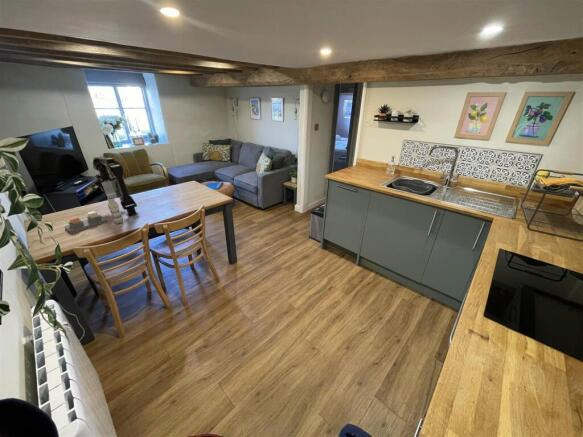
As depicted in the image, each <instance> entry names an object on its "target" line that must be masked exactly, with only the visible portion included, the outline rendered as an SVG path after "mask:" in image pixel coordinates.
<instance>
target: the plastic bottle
mask: <svg viewBox="0 0 583 437" xmlns="http://www.w3.org/2000/svg"><path fill="white" fill-rule="evenodd" d="M107 202H108V203H107V208H108V209H109V211H110V213H111V218H112V222H113V223H114V224H115V225H118V224H122V223H123V222H124V218H123V216H122V214H121V210H120V207H119V203H118V202H116V201H115V198H114V197H108V198H107Z"/></svg>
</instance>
